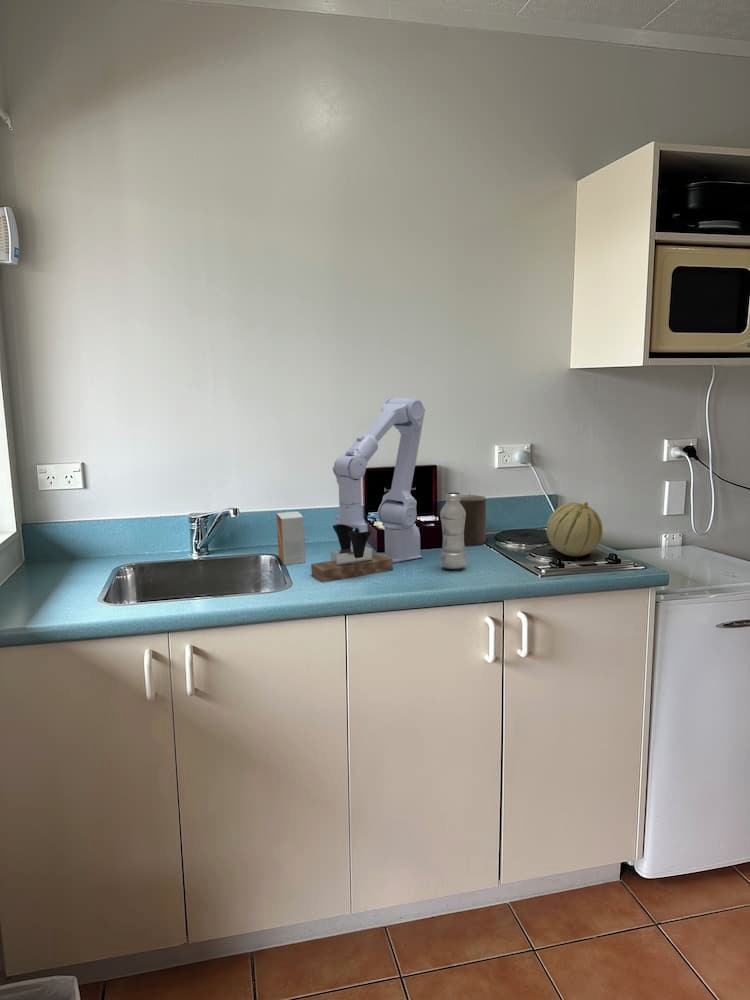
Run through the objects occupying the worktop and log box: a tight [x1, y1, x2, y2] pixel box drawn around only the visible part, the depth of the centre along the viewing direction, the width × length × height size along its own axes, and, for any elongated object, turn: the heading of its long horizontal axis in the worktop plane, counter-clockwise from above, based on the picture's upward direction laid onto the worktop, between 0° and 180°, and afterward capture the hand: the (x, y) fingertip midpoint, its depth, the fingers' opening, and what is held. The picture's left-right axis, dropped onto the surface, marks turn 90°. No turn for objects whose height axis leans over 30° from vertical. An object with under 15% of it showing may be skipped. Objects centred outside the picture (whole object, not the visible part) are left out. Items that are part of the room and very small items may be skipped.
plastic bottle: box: [439, 491, 467, 570], centre depth 182 cm, size 6×7×20 cm
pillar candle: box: [460, 492, 487, 547], centre depth 210 cm, size 10×10×15 cm
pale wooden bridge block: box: [330, 546, 373, 566], centre depth 182 cm, size 10×4×6 cm, turn 118°
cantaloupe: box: [545, 502, 603, 557], centre depth 192 cm, size 15×15×15 cm
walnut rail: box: [310, 552, 394, 583], centre depth 182 cm, size 20×7×3 cm, turn 118°
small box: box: [276, 511, 307, 566], centre depth 194 cm, size 8×6×13 cm
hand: (352, 554), depth 181 cm, fingers open, 7 cm apart
